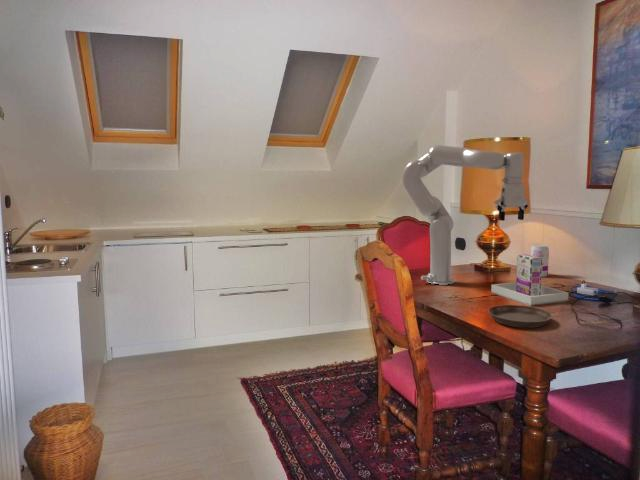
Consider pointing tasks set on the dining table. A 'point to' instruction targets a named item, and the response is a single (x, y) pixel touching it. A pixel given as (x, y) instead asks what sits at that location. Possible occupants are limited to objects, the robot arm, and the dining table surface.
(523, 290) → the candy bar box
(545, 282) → the dining table surface
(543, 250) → the supplement can
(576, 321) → the dining table surface
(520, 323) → the plant saucer
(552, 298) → the tray
